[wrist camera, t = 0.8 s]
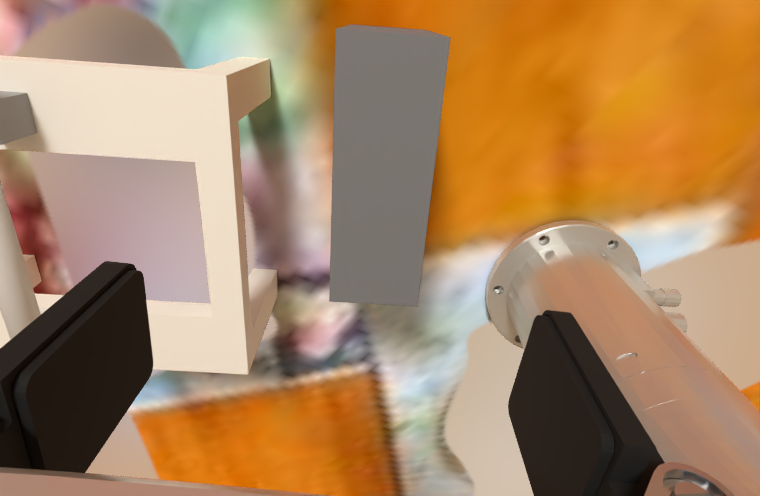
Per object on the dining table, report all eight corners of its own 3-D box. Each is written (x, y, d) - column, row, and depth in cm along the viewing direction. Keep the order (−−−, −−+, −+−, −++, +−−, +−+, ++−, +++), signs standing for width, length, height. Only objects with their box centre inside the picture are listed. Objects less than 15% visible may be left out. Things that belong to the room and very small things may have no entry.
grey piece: (351, 24, 31) (335, 28, 20) (426, 30, 31) (450, 37, 20) (344, 218, 37) (329, 301, 26) (406, 222, 37) (417, 306, 27)
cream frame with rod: (269, 58, 32) (196, 86, 19) (277, 295, 40) (230, 421, 28) (-60, 34, 31) (-358, 47, 19) (18, 279, 40) (-152, 402, 27)
